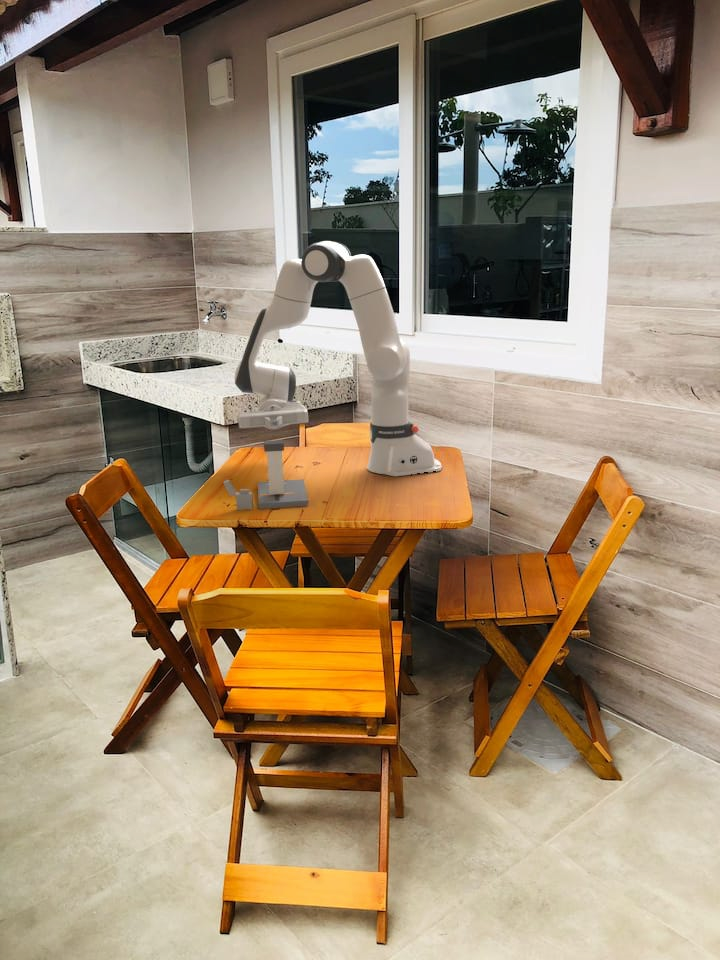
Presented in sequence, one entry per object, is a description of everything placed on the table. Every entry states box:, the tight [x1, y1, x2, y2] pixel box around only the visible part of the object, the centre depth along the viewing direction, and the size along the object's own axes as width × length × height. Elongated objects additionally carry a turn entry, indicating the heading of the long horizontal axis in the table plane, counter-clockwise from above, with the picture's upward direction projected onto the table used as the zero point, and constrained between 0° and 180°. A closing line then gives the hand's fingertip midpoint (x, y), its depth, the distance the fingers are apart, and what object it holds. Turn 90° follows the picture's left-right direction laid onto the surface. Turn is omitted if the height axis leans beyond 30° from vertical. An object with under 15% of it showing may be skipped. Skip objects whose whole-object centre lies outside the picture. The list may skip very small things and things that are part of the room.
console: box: [257, 478, 309, 510], centre depth 216 cm, size 13×20×2 cm, turn 7°
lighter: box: [223, 479, 254, 511], centre depth 206 cm, size 7×2×8 cm, turn 92°
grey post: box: [263, 439, 285, 495], centre depth 211 cm, size 5×4×14 cm
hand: (273, 423), depth 223 cm, fingers closed
